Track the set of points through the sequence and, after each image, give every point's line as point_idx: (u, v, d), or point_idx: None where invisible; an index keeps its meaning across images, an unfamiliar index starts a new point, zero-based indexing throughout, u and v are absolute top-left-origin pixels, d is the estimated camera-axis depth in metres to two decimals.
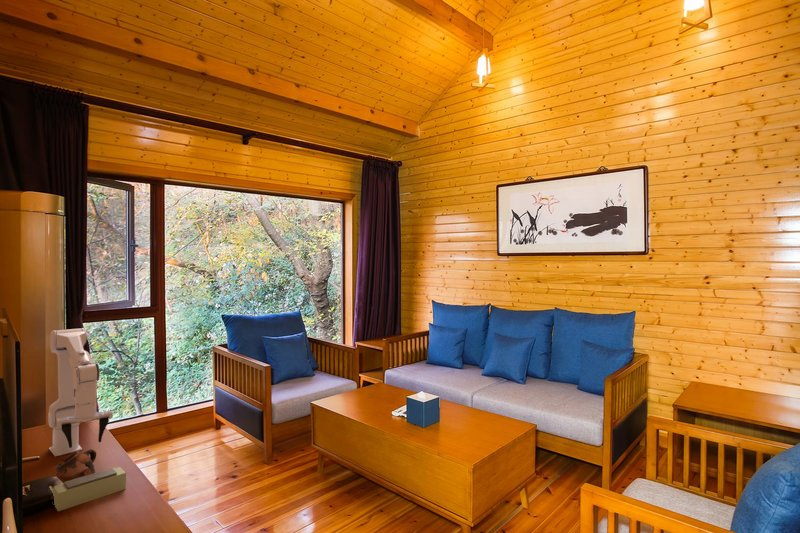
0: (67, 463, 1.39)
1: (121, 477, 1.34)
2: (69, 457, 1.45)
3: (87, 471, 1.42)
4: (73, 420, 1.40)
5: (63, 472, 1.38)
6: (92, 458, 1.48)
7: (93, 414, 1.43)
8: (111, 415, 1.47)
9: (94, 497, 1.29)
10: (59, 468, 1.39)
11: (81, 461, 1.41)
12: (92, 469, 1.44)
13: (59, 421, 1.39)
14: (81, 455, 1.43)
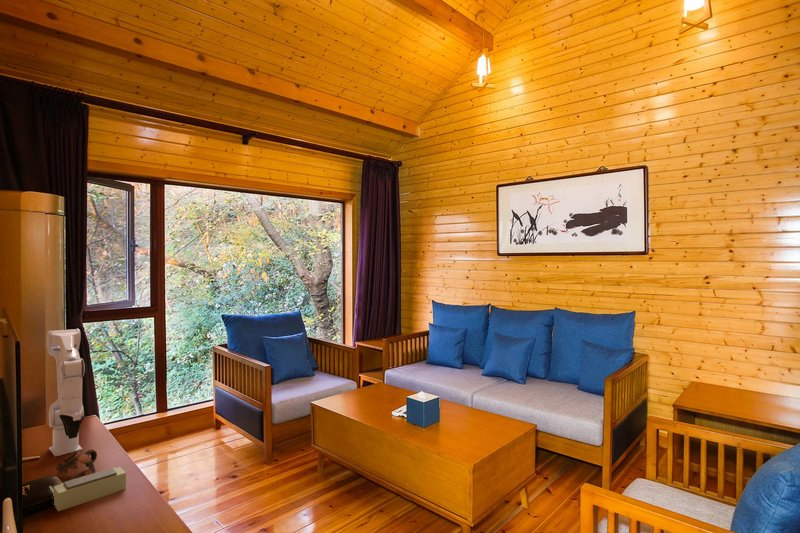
0: (68, 463, 1.39)
1: (121, 477, 1.34)
2: (70, 457, 1.44)
3: (88, 471, 1.42)
4: None
5: (64, 472, 1.38)
6: (93, 458, 1.48)
7: (66, 410, 1.47)
8: (73, 417, 1.45)
9: (94, 497, 1.29)
10: (60, 468, 1.39)
11: (82, 461, 1.41)
12: (93, 469, 1.44)
13: None
14: (82, 455, 1.43)
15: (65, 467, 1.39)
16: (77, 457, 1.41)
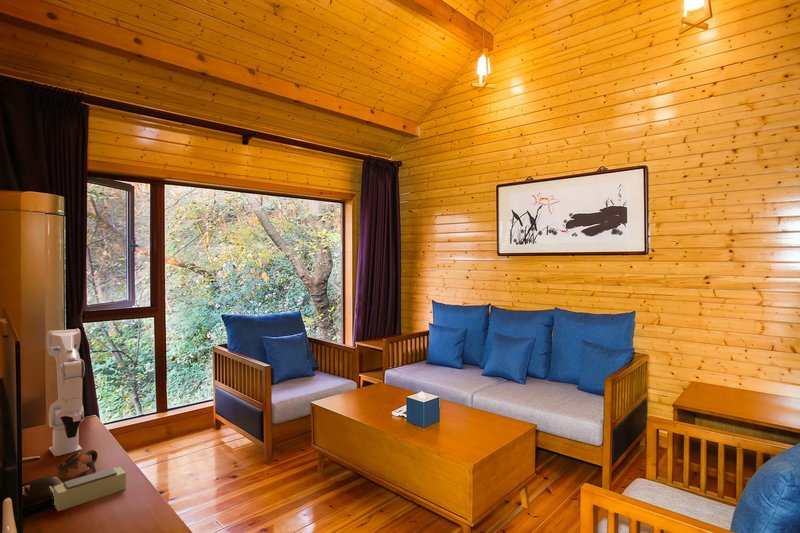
0: (69, 464, 1.39)
1: (121, 477, 1.34)
2: (70, 458, 1.44)
3: (89, 471, 1.42)
4: None
5: (65, 473, 1.38)
6: (93, 458, 1.48)
7: (66, 411, 1.47)
8: (73, 418, 1.45)
9: (94, 497, 1.29)
10: (61, 469, 1.38)
11: (83, 461, 1.41)
12: (94, 469, 1.44)
13: None
14: (82, 455, 1.43)
15: (66, 467, 1.38)
16: (78, 457, 1.41)
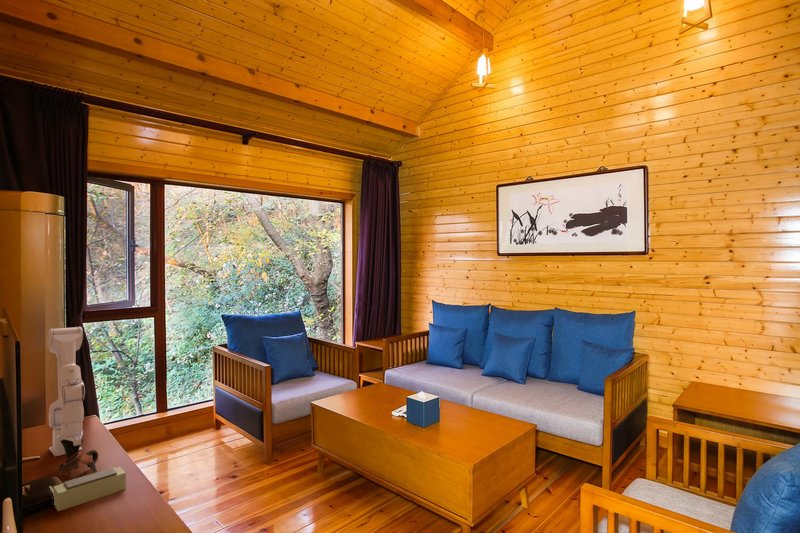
0: (69, 464, 1.39)
1: (121, 477, 1.34)
2: (71, 458, 1.44)
3: (89, 472, 1.41)
4: None
5: (65, 473, 1.38)
6: (94, 459, 1.48)
7: (66, 434, 1.47)
8: (73, 442, 1.45)
9: (94, 497, 1.29)
10: (61, 469, 1.38)
11: (83, 462, 1.41)
12: (94, 470, 1.43)
13: None
14: (83, 456, 1.43)
15: (67, 468, 1.38)
16: (79, 458, 1.41)
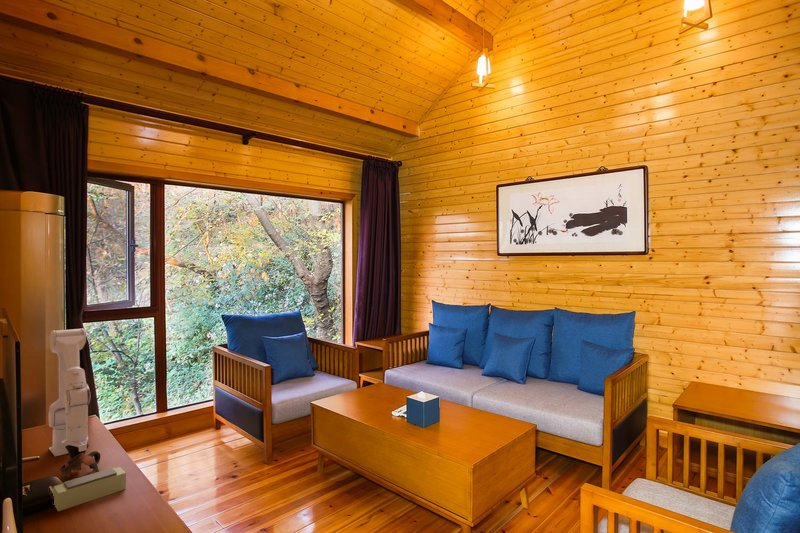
0: (72, 465, 1.38)
1: (121, 477, 1.34)
2: (73, 459, 1.43)
3: (92, 473, 1.40)
4: None
5: (68, 474, 1.37)
6: (96, 460, 1.47)
7: (71, 440, 1.43)
8: (79, 448, 1.40)
9: (94, 497, 1.29)
10: (64, 470, 1.37)
11: (86, 463, 1.40)
12: (97, 471, 1.42)
13: None
14: (86, 457, 1.42)
15: (69, 469, 1.37)
16: (81, 459, 1.40)
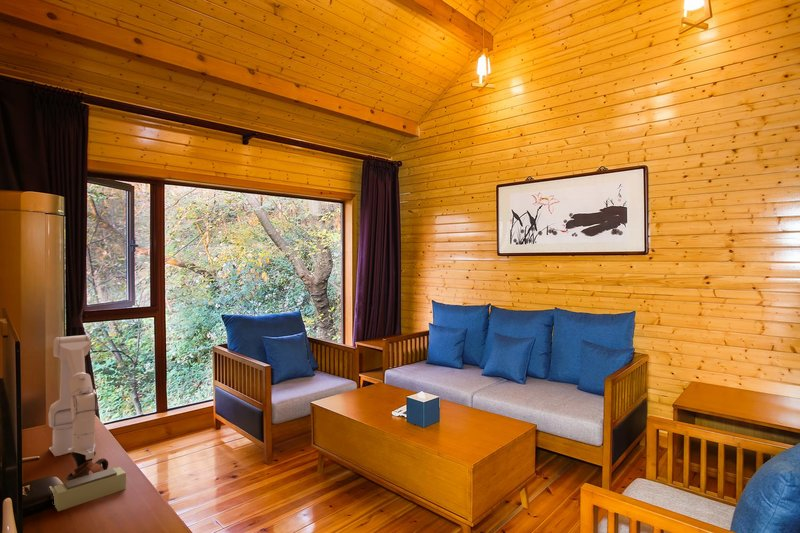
0: (79, 473, 1.32)
1: (121, 477, 1.34)
2: (80, 467, 1.38)
3: None
4: None
5: None
6: (104, 467, 1.41)
7: (78, 447, 1.38)
8: (86, 456, 1.35)
9: (94, 497, 1.29)
10: (71, 479, 1.32)
11: (94, 471, 1.35)
12: None
13: None
14: (93, 465, 1.37)
15: (77, 477, 1.32)
16: (89, 467, 1.35)
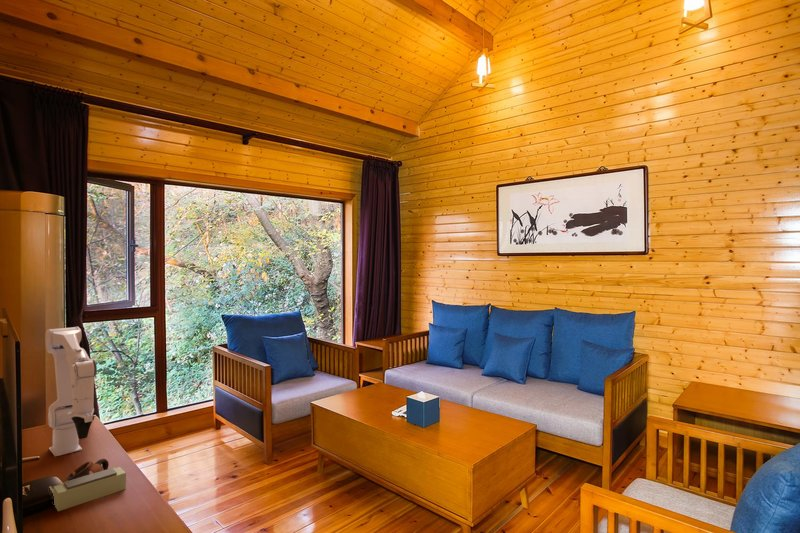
0: (80, 474, 1.33)
1: (121, 477, 1.34)
2: (81, 467, 1.38)
3: None
4: None
5: None
6: (104, 468, 1.42)
7: (77, 411, 1.45)
8: (85, 419, 1.43)
9: (94, 497, 1.29)
10: (71, 479, 1.32)
11: (94, 471, 1.35)
12: None
13: None
14: (94, 465, 1.37)
15: None
16: (89, 467, 1.35)
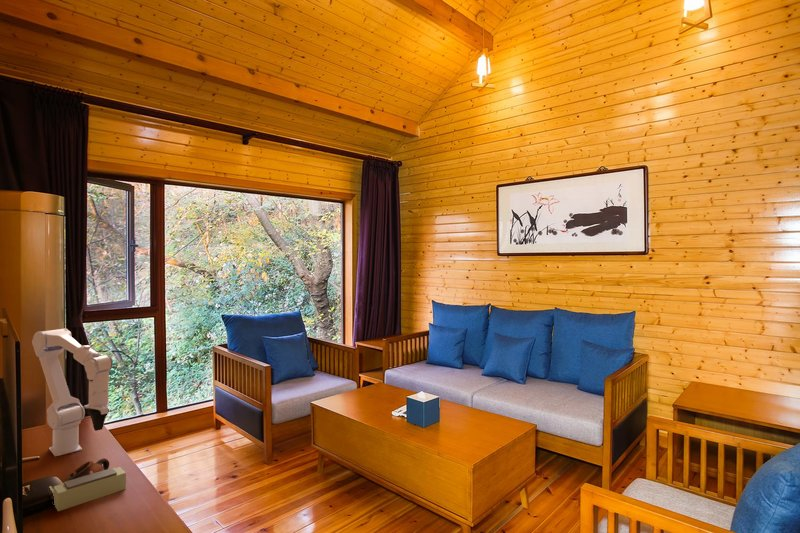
0: (80, 474, 1.33)
1: (121, 477, 1.34)
2: (81, 467, 1.38)
3: None
4: None
5: None
6: (105, 468, 1.42)
7: (93, 404, 1.52)
8: (101, 411, 1.50)
9: (94, 497, 1.29)
10: (72, 479, 1.32)
11: (95, 471, 1.35)
12: None
13: None
14: (94, 465, 1.37)
15: None
16: (90, 467, 1.35)
